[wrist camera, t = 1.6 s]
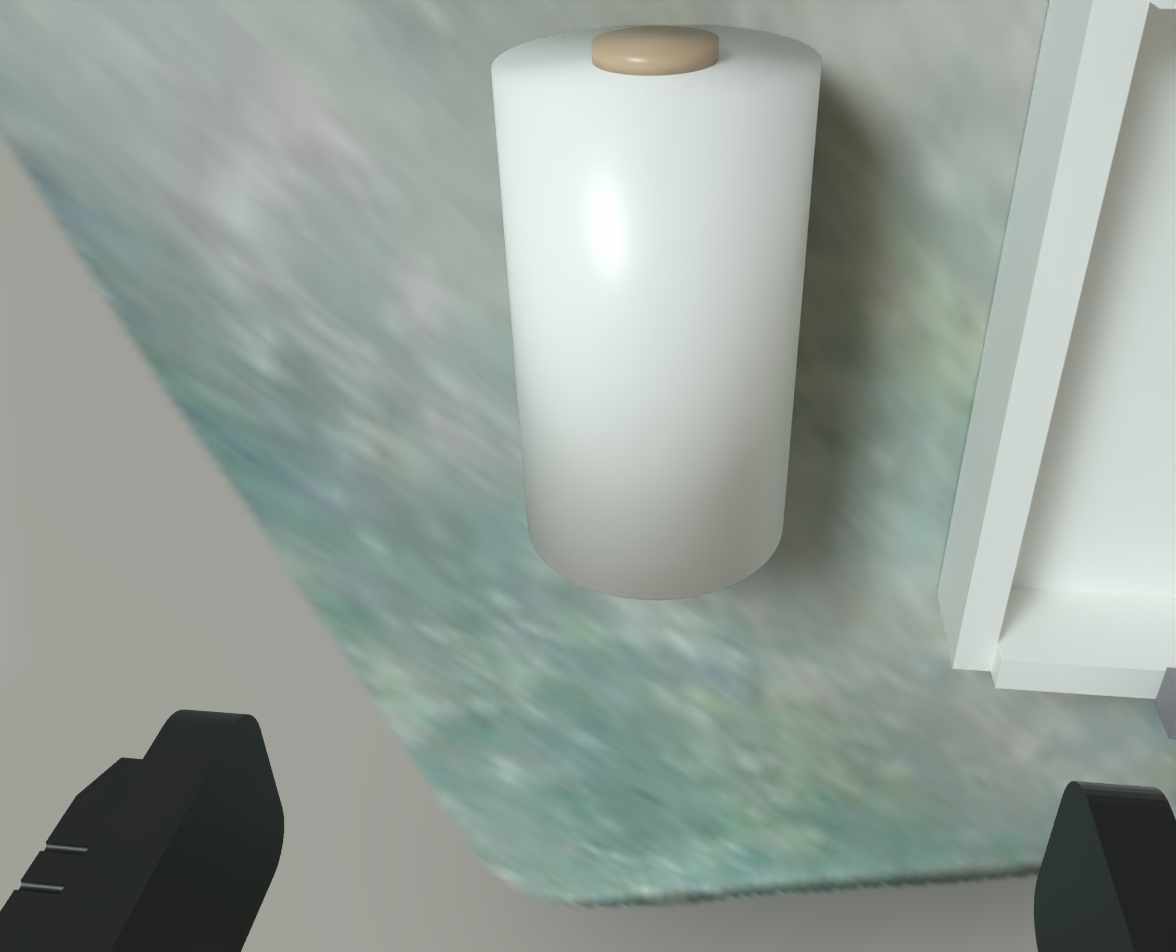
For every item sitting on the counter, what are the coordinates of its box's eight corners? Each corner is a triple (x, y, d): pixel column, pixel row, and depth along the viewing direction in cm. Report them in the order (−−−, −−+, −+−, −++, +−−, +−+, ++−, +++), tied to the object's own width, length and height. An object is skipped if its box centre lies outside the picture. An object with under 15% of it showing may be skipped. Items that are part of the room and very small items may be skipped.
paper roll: (574, -1, 20) (427, 67, 16) (857, 14, 18) (768, 95, 14) (591, 442, 25) (483, 573, 21) (810, 488, 24) (736, 641, 20)
